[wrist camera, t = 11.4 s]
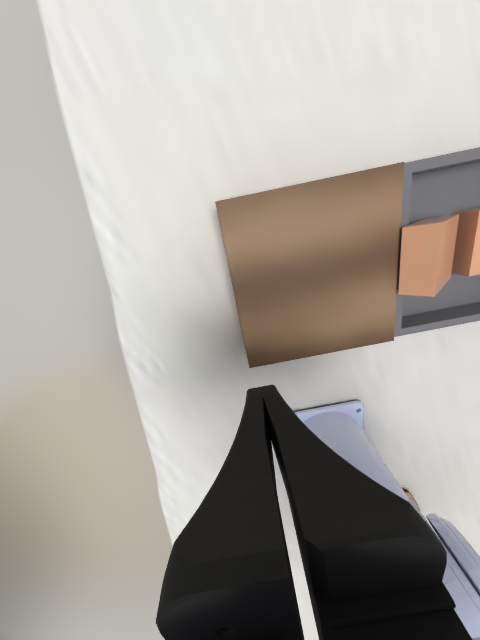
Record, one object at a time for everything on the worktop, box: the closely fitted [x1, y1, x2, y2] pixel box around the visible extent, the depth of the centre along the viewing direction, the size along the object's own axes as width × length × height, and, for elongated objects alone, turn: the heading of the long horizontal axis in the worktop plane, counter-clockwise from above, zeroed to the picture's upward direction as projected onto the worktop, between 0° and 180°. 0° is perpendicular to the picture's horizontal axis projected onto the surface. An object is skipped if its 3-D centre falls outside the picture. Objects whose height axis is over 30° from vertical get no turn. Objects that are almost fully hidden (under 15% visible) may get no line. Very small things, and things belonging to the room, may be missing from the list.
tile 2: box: [398, 214, 459, 297], centre depth 16 cm, size 4×4×2 cm
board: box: [215, 162, 404, 368], centre depth 17 cm, size 12×12×3 cm
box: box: [394, 147, 480, 337], centre depth 17 cm, size 12×11×2 cm
